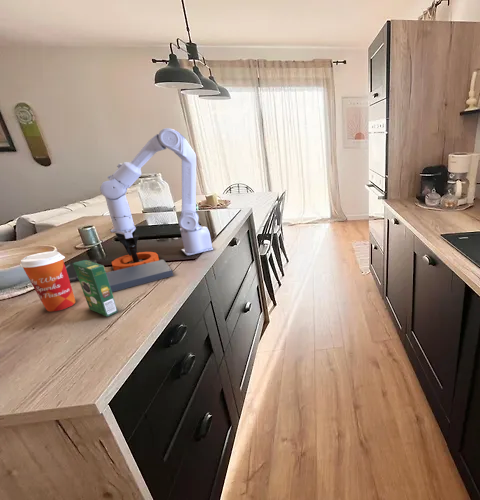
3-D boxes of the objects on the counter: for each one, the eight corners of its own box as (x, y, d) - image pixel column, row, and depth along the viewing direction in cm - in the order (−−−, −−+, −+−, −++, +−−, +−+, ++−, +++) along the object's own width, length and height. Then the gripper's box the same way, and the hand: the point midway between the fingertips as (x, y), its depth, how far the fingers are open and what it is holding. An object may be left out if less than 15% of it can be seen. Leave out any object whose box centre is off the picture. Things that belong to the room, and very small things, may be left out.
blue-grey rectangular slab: (164, 264, 100) (163, 259, 99) (173, 275, 91) (172, 270, 91) (106, 278, 90) (104, 272, 89) (110, 292, 81) (107, 286, 81)
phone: (46, 281, 85) (68, 263, 98) (48, 285, 85) (69, 266, 98) (80, 276, 88) (97, 259, 101) (81, 280, 88) (98, 262, 101)
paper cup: (34, 317, 70) (10, 264, 65) (47, 302, 76) (26, 253, 71) (76, 308, 73) (56, 258, 68) (85, 295, 80) (67, 248, 75)
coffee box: (120, 311, 72) (104, 264, 67) (107, 317, 70) (89, 268, 65) (102, 304, 75) (85, 258, 71) (89, 310, 73) (71, 262, 68)
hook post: (142, 260, 103) (137, 241, 100) (144, 263, 100) (139, 244, 98) (129, 263, 100) (123, 243, 98) (130, 267, 98) (124, 246, 95)
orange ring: (154, 254, 109) (153, 249, 108) (162, 264, 100) (161, 258, 99) (111, 263, 101) (109, 258, 100) (115, 275, 92) (113, 269, 91)
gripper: (104, 213, 101) (115, 249, 106) (108, 222, 91) (120, 261, 96) (129, 210, 105) (138, 245, 110) (135, 218, 95) (145, 256, 100)
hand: (131, 252), depth 103 cm, fingers open, 6 cm apart
